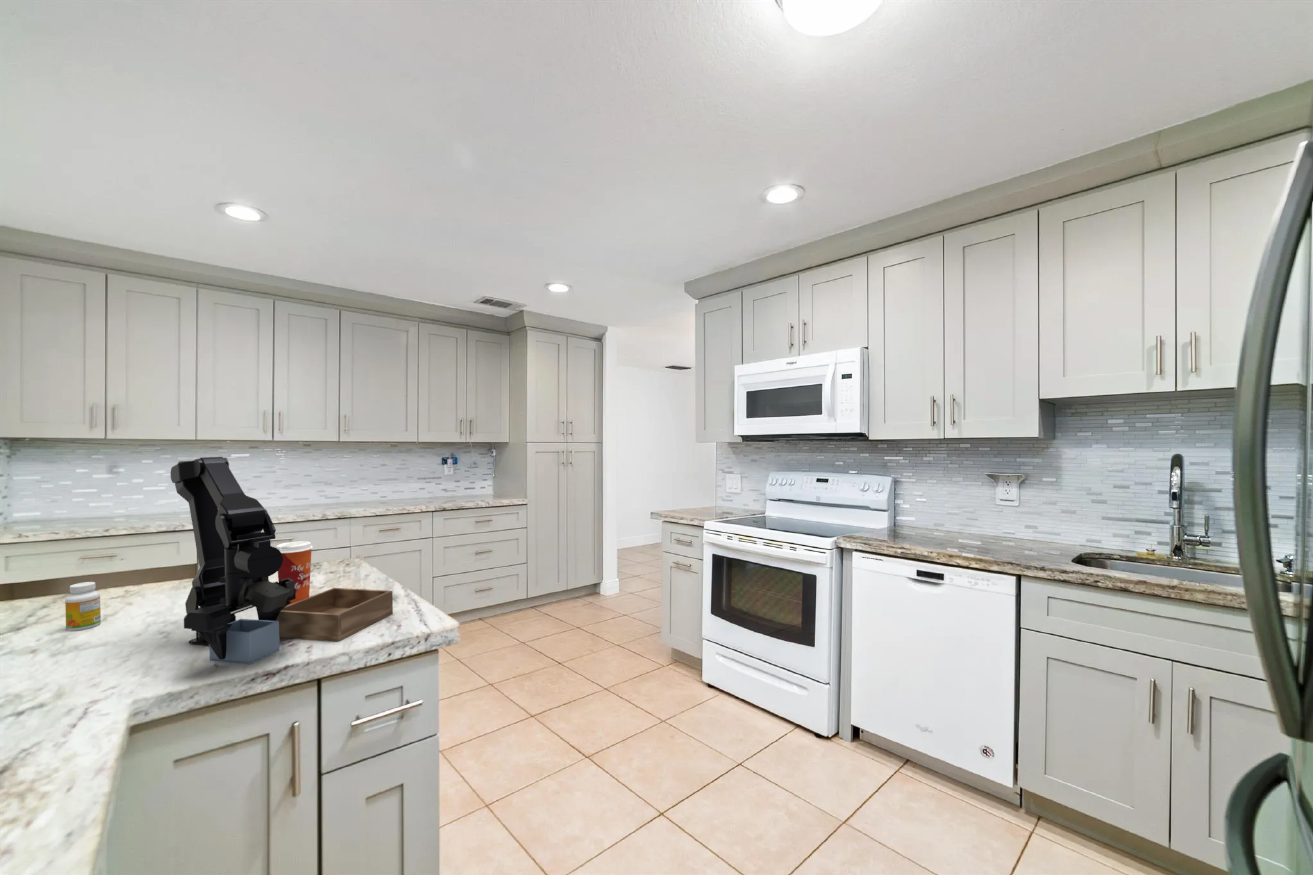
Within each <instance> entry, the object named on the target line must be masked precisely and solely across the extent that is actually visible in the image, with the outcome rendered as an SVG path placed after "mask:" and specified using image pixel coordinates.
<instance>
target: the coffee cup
mask: <svg viewBox="0 0 1313 875" xmlns="http://www.w3.org/2000/svg"><path fill="white" fill-rule="evenodd" d="M275 548H277V549H278V550H279V551H280V552H281V554H282V556H283V563H282V565H281V567H280V569H279V570H278V571H277V580H278V583H279V582H280V581H281V580H283V579H287V578H290V579H292V580H294V586H295V590H296V599H293V600H291V601H290V602H291V603H290V604H293V603H295V602H298V601H300V600H303V599H306V598H308V597H310V586H311V568H312V567H311V566H312V565H311V564H312V549H313V548H314V546H313V545H312V542H311V541H306V540H298V541H290V542H289V541H288V542H283V543H279V544H277V545H276V546H275ZM290 604H289V605H290Z"/></svg>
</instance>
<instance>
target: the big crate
mask: <svg viewBox="0 0 1313 875" xmlns="http://www.w3.org/2000/svg"><path fill="white" fill-rule="evenodd" d="M393 599H394V598H393V590H384V589H383V590H382V589H381V590H380V589H366V588H365V589H364V588H363V589H362V588H347V587H346V588H345V587H342V588H341V587H332V588H329V589H327V590H325V591H322V592H319V593H317V594H314V595H311V596H309V597H308V598H306V599H303V600H300V601H298V602H295V603H293V604H290V605H287V606H286V607H285V608H284V609H282V610H281V611H280V613H279V615H278V617H277V620H276V621H279V638H285V639H297V640H310V641H311V640H313V641H314V640H315V641H327V642H341V641H342V640H344V639H346V638H349V637H350V636H351V635H354V634H356V633H358V632H360V631H362V630H363V629H366V628H367V627H370V626H372V625H374V624H376V623H377V622H379V621H381V620H384V619H385V618H387V617H390V616H391V615H393V613H394V609H393V608H394V606H393V604H394V603H393V602H394V601H393Z"/></svg>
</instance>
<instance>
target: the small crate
mask: <svg viewBox="0 0 1313 875" xmlns="http://www.w3.org/2000/svg"><path fill="white" fill-rule="evenodd" d="M228 624H232V626H231V627H230V628H229V629H228V631H227V633H226V634H227V651H226V658H225V659H219V658H218V657H217V655H216V654H215V652H214V651H213V649H212V648H211V647H210V645H208V647H209V662H216V663H217V662H219V663H228V664H229V663H230V664H240V665H241V664H242V665H243V664H244V665H251V664H254V663H255V662H257V661H259V660H262V659H263V658H266V657H269V656H270V654H271V655H272V654H275V653H277V652H279V651H280V637H279V621H268V620H259V619H250V618H239V619H236V621H233V622H231V623H228Z"/></svg>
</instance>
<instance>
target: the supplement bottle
mask: <svg viewBox="0 0 1313 875" xmlns="http://www.w3.org/2000/svg"><path fill="white" fill-rule="evenodd" d="M69 593H71V594H69V595H68V596H66V597H65V603H64V604H65V605H64V606H65V607H64V608H65V630H66V631H69V632H78V631H83V630H88V629H92V628H95V627H97V626H99V625H100V624H101V622H102V619H101V618H102V617H101V594H100V592H99V591H97V590H96V582H94V581H85V582H78V583H75V584H72V585H70V586H69Z"/></svg>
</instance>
